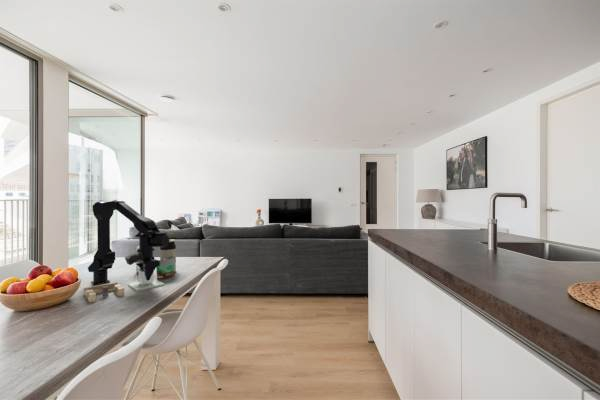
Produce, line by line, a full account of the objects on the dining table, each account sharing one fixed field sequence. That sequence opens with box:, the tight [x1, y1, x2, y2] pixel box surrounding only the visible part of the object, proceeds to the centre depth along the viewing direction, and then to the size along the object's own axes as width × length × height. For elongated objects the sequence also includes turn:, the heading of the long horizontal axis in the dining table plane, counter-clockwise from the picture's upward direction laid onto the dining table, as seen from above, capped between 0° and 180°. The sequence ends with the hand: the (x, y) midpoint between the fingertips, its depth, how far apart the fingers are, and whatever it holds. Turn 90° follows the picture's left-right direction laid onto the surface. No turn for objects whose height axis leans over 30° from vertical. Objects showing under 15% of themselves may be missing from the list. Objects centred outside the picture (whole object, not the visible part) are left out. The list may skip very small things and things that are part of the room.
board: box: [127, 278, 165, 292], centre depth 132 cm, size 12×12×1 cm
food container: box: [155, 256, 177, 280], centre depth 146 cm, size 12×6×10 cm, turn 168°
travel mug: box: [159, 238, 177, 273], centre depth 157 cm, size 8×8×18 cm
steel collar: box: [138, 269, 155, 285], centre depth 132 cm, size 5×5×6 cm
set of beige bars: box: [83, 281, 125, 303], centre depth 119 cm, size 13×12×4 cm
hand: (146, 279), depth 132 cm, fingers closed on steel collar, 5 cm apart
